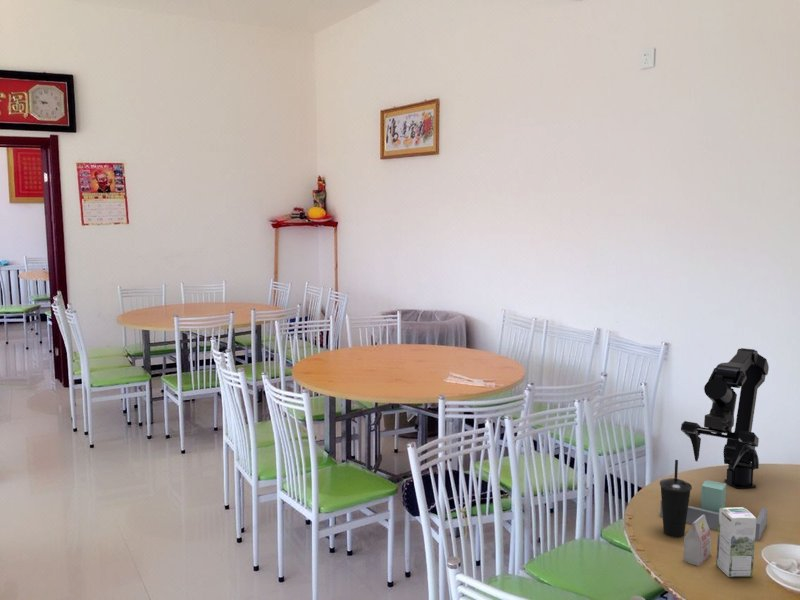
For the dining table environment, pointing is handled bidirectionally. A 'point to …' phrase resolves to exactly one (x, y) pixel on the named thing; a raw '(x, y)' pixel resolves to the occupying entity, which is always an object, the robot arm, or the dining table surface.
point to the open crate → (713, 519)
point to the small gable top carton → (697, 542)
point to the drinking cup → (674, 504)
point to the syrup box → (736, 542)
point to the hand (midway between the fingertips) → (714, 464)
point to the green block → (713, 496)
